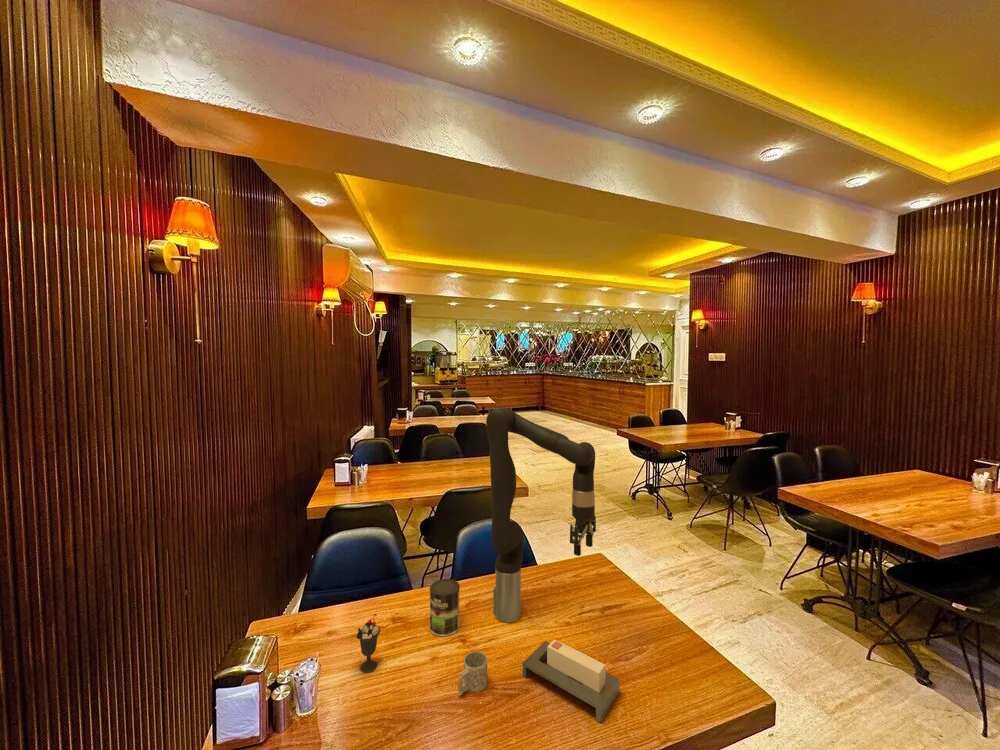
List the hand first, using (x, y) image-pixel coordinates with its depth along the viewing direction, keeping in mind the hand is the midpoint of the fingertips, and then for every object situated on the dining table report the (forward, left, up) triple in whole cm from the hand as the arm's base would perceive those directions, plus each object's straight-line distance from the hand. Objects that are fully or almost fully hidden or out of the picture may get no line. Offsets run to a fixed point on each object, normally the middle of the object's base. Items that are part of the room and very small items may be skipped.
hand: (583, 550), depth 131 cm
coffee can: (-39, -27, -28) cm, 55 cm away
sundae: (-43, -54, -28) cm, 75 cm away
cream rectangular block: (+9, -22, -27) cm, 36 cm away
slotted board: (+7, -22, -28) cm, 36 cm away
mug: (-14, -40, -28) cm, 51 cm away
